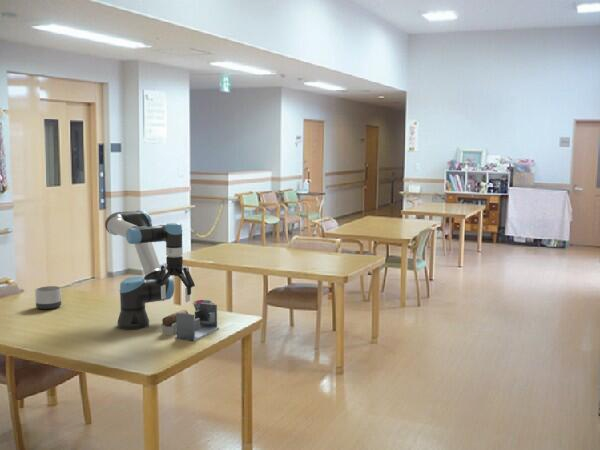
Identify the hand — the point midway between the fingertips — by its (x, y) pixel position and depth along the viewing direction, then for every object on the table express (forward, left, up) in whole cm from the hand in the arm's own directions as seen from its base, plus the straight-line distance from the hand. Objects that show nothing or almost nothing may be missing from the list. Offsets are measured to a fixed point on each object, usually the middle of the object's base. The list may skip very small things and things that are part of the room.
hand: (175, 300), depth 298 cm
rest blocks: (0, 0, -15) cm, 15 cm away
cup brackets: (+12, 0, -15) cm, 19 cm away
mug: (+5, +18, -15) cm, 24 cm away
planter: (-88, +9, -15) cm, 90 cm away
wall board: (+12, 0, -15) cm, 19 cm away
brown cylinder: (0, 0, -11) cm, 11 cm away
